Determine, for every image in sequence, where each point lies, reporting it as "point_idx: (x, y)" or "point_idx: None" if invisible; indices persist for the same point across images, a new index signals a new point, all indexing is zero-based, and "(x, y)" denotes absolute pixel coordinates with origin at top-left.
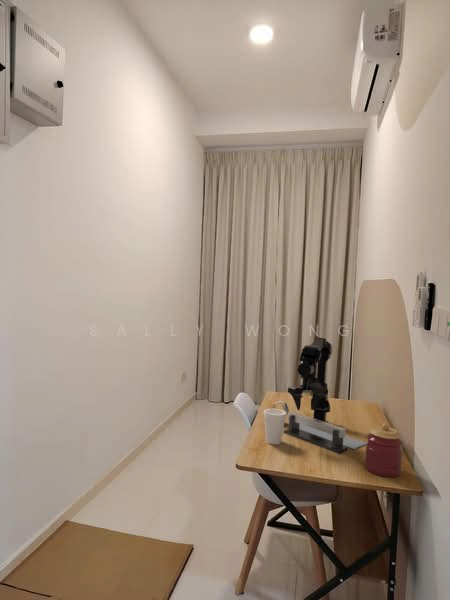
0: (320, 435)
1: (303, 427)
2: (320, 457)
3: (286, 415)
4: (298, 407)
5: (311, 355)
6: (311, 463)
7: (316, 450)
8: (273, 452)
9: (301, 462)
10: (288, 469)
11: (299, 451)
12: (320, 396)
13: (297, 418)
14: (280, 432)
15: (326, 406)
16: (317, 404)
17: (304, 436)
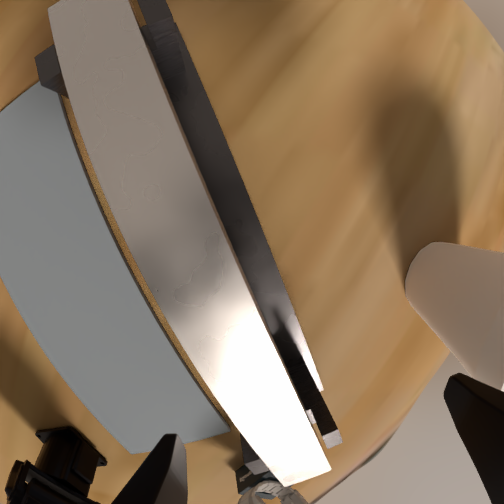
0: (127, 308)
1: (177, 421)
2: (318, 21)
3: (254, 489)
4: (486, 387)
5: None
6: (390, 3)
7: (287, 99)
8: (480, 160)
9: (424, 30)
10: (473, 24)
11: (388, 121)
12: None
13: (305, 412)
14: (470, 253)
15: (23, 484)
16: (140, 492)
17: (263, 290)
